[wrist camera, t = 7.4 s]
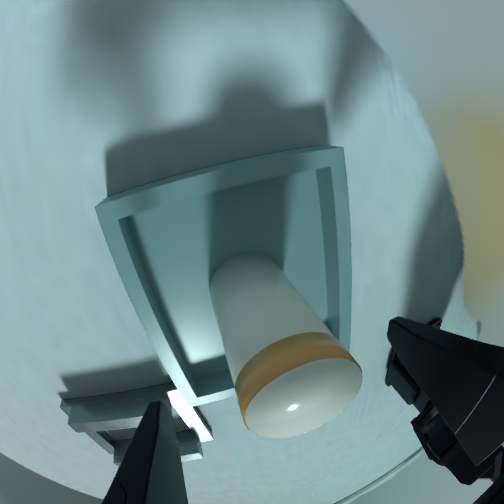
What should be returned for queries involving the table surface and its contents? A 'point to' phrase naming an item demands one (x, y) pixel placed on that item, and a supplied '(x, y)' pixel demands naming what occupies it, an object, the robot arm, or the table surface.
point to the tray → (230, 251)
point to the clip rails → (135, 418)
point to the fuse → (278, 350)
